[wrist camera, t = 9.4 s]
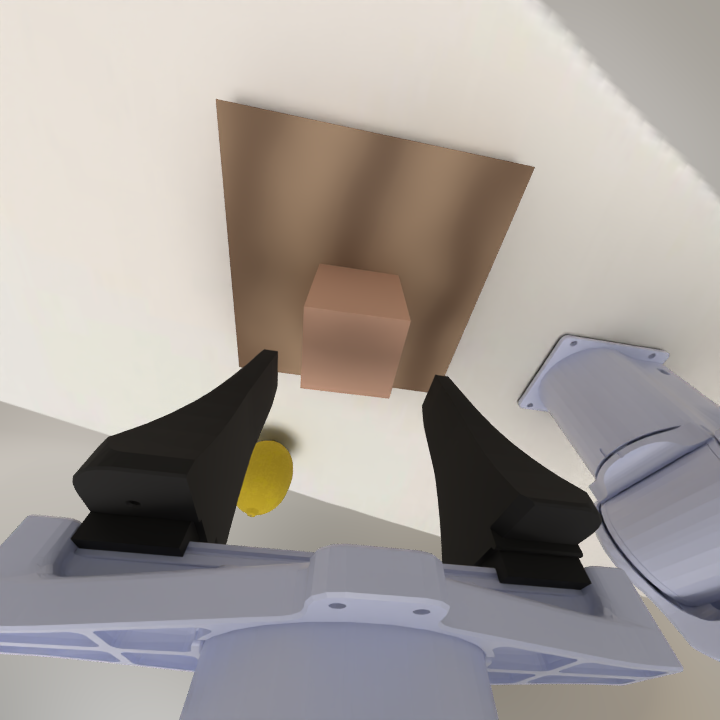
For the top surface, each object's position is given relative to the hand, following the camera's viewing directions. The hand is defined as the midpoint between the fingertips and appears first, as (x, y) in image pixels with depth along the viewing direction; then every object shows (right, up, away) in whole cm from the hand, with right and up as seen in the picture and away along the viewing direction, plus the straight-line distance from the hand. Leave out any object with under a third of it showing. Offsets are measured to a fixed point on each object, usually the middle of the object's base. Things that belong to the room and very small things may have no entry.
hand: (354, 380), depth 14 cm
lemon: (-9, -8, +19) cm, 22 cm away
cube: (0, +5, +6) cm, 8 cm away
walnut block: (0, +7, +8) cm, 10 cm away
